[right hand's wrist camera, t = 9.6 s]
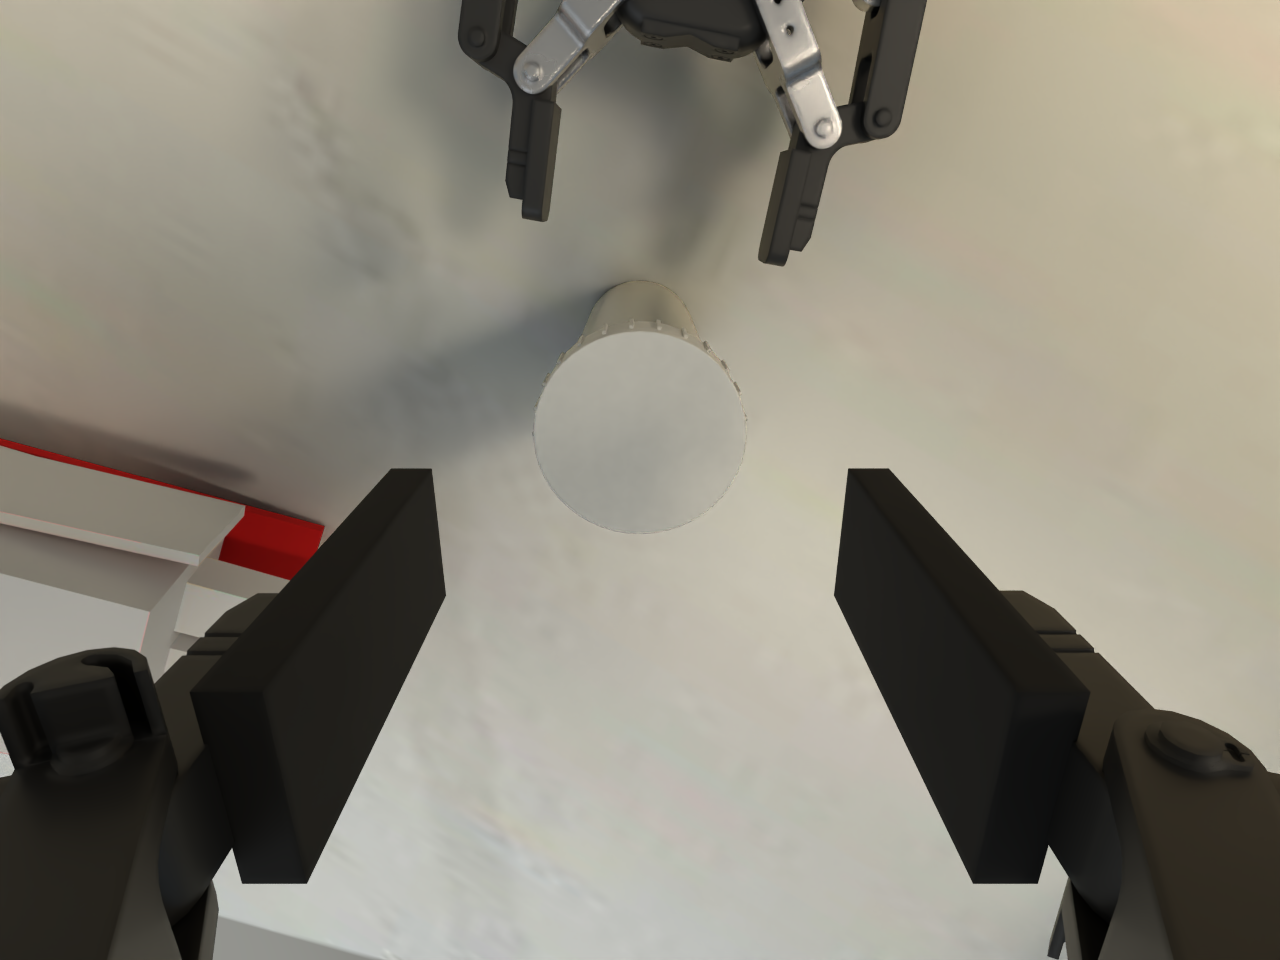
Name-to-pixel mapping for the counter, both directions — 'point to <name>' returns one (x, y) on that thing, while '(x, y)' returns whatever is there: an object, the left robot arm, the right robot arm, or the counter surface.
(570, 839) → the counter surface
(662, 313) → the jar
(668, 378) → the lid
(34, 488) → the toy
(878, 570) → the right robot arm
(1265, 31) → the counter surface
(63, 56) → the counter surface
